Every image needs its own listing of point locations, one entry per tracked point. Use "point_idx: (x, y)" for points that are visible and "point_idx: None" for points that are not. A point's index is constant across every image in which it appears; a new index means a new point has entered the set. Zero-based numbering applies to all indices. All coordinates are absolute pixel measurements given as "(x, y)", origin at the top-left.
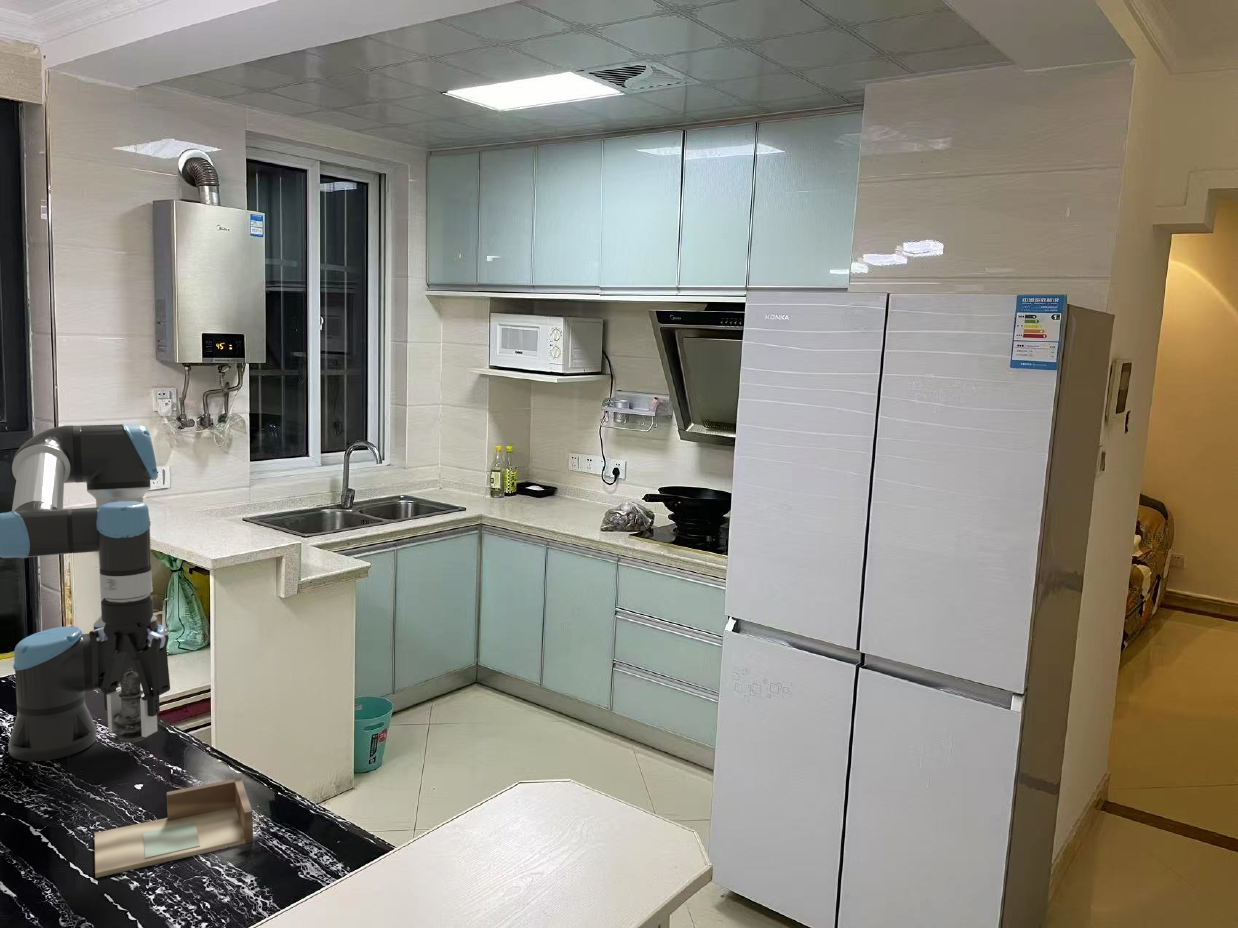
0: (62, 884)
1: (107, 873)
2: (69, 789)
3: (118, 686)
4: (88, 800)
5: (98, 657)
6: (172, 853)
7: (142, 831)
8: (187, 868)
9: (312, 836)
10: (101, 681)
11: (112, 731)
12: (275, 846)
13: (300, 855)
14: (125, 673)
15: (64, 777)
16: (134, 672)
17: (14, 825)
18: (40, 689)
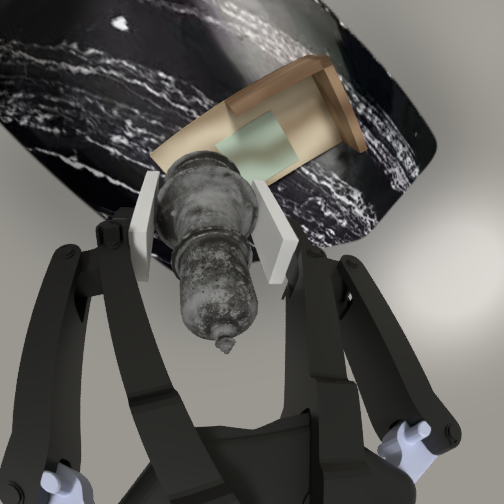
0: None
1: None
2: (35, 70)
3: (125, 239)
4: (76, 80)
5: (79, 402)
6: (274, 176)
7: (209, 138)
8: (296, 188)
9: (396, 124)
10: (86, 294)
11: None
12: (368, 143)
13: (390, 157)
14: (204, 334)
15: (12, 52)
16: (238, 321)
17: (43, 161)
18: None
